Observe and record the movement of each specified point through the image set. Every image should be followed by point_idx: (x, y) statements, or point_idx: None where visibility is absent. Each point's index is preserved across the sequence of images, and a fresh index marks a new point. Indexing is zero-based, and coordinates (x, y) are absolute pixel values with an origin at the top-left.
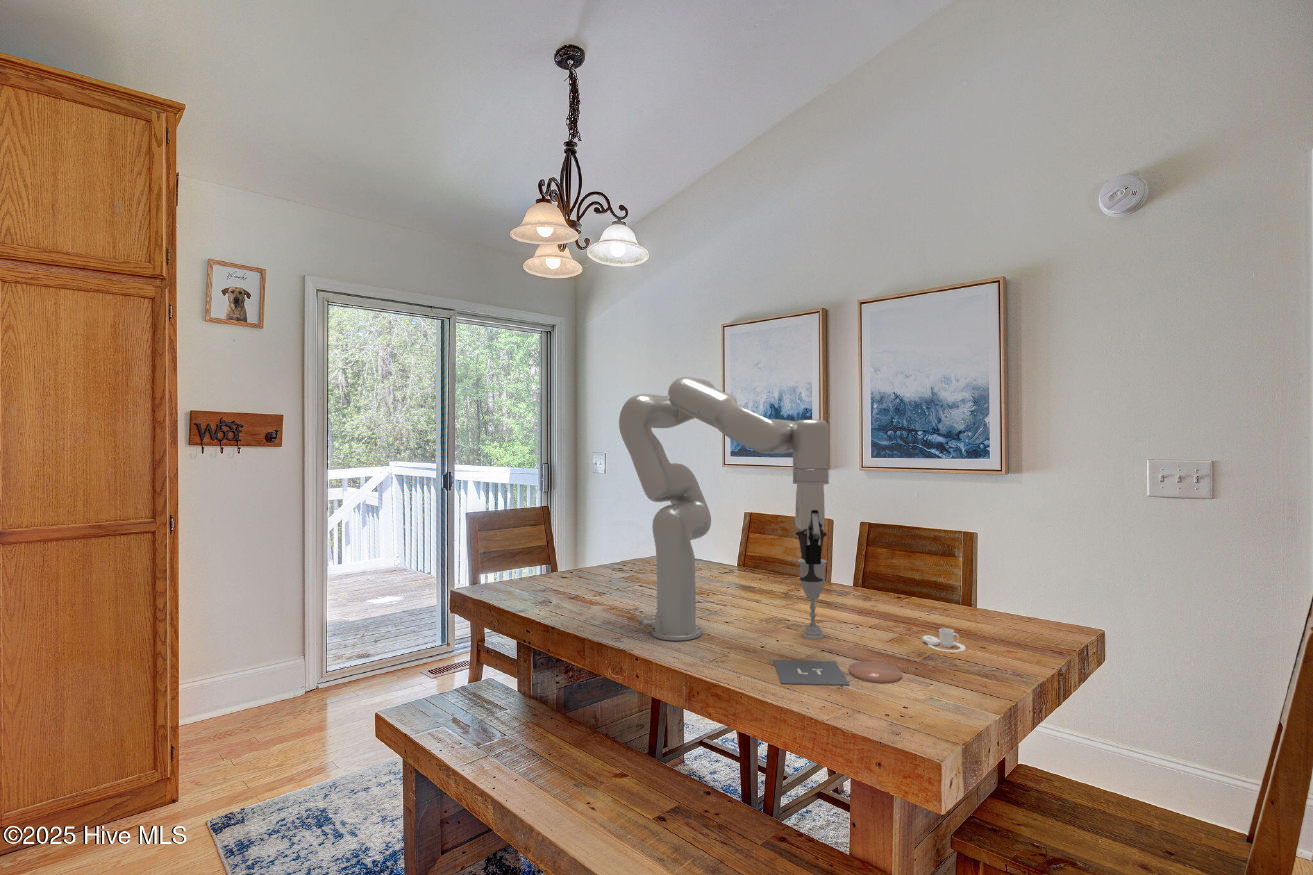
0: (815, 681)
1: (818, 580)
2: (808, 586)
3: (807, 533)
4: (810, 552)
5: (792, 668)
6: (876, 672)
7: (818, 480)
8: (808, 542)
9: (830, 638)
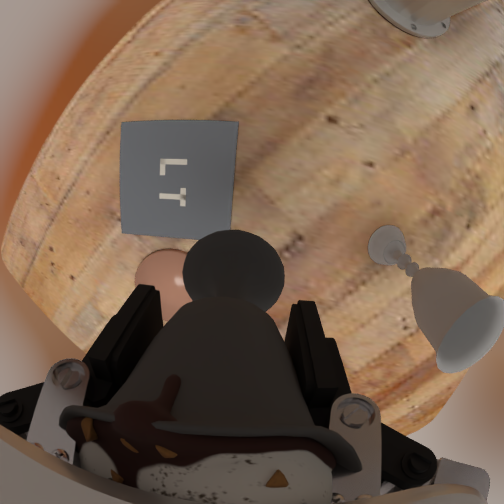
0: (128, 181)
1: (193, 297)
2: (425, 282)
3: (31, 434)
4: (95, 342)
5: (188, 151)
6: (161, 287)
7: None
8: (51, 377)
9: (364, 271)
